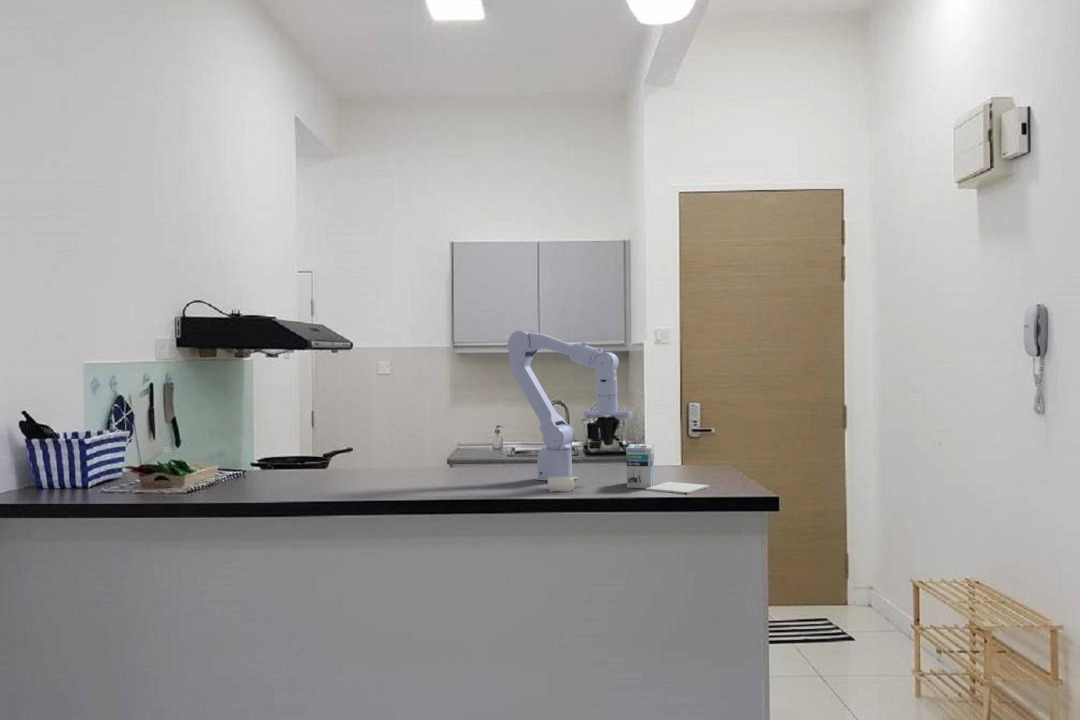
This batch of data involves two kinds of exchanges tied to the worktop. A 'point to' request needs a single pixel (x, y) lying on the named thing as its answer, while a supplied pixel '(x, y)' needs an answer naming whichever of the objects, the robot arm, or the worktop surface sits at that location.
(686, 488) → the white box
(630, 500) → the worktop surface
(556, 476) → the pale rounded bar
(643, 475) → the light bulb box
